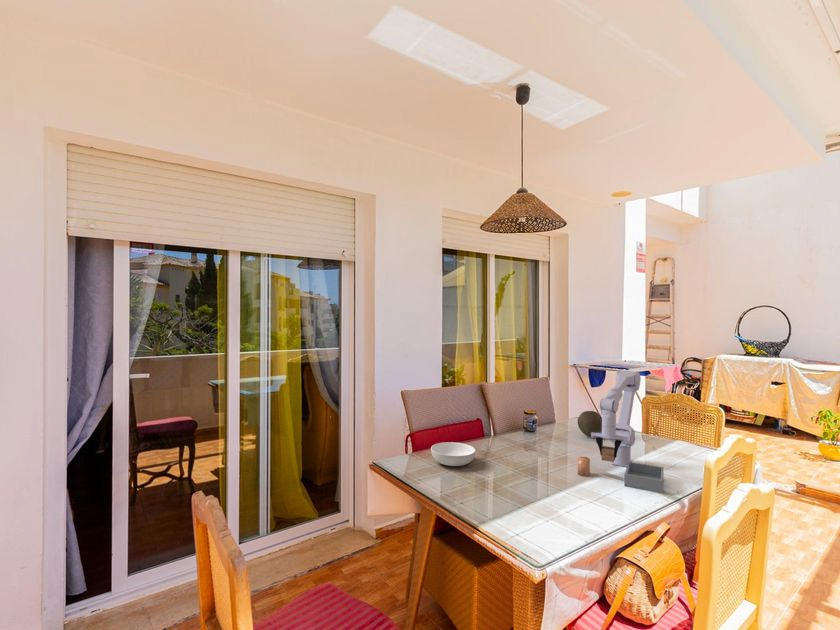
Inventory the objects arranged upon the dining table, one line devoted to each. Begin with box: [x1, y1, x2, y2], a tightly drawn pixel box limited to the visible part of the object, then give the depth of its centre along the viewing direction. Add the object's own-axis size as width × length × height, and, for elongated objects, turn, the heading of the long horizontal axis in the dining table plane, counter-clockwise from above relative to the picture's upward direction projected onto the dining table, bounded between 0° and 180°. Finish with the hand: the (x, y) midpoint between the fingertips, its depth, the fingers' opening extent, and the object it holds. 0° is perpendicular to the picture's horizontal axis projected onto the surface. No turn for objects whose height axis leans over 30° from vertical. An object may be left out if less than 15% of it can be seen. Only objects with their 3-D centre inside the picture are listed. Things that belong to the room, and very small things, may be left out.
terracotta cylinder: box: [577, 456, 591, 478], centre depth 188 cm, size 5×5×7 cm
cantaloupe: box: [576, 410, 602, 438], centre depth 246 cm, size 14×14×15 cm
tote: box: [624, 461, 665, 494], centre depth 180 cm, size 18×14×5 cm
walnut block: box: [601, 445, 615, 463], centre depth 191 cm, size 5×5×5 cm
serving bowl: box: [430, 441, 477, 467], centre depth 201 cm, size 21×21×7 cm
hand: (608, 455), depth 191 cm, fingers closed on walnut block, 5 cm apart
